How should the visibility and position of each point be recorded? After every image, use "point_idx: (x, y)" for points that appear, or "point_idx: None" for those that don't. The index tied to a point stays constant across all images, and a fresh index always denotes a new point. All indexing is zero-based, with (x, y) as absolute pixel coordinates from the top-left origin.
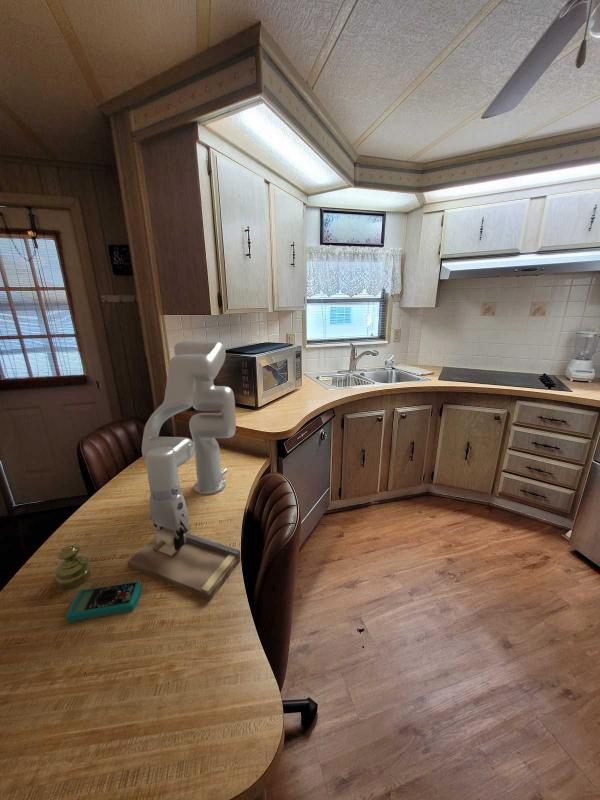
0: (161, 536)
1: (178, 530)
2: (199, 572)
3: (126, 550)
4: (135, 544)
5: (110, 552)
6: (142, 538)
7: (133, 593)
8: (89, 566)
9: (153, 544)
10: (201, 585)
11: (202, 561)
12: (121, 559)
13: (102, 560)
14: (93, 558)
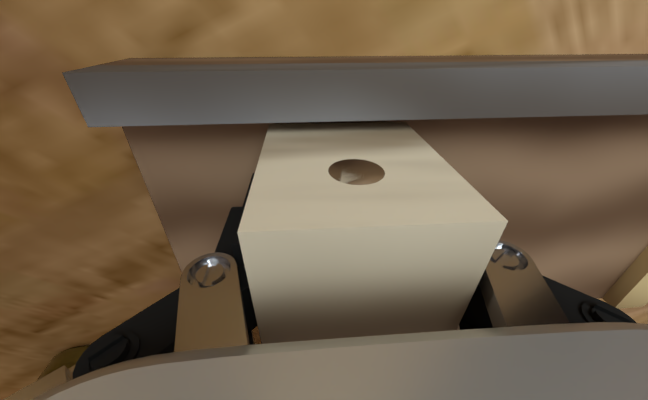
0: None
1: (465, 297)
2: (575, 250)
3: (84, 251)
4: (65, 209)
5: (38, 283)
6: (29, 159)
7: None
8: None
9: (198, 220)
10: (597, 284)
11: (577, 201)
12: (137, 286)
13: (75, 314)
14: (29, 321)
